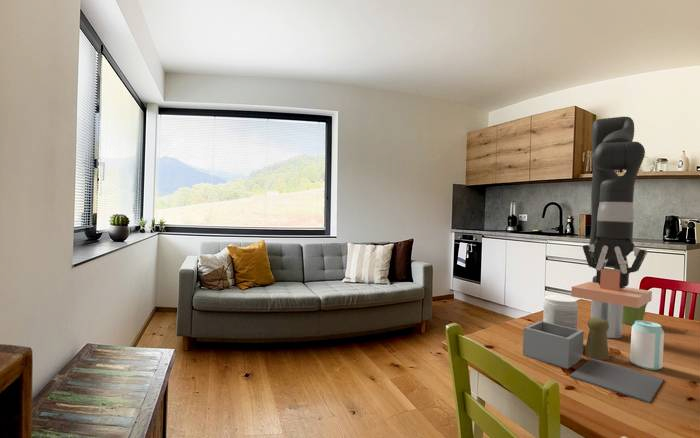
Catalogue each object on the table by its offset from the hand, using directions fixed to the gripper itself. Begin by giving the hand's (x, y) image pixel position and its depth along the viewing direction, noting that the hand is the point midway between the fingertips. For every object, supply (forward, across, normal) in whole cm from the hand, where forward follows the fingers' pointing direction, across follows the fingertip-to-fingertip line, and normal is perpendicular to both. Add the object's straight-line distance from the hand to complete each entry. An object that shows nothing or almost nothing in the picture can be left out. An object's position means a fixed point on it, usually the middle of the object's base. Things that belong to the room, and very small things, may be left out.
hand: (611, 285), depth 94 cm
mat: (+24, -2, 0) cm, 24 cm away
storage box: (+23, +14, -2) cm, 27 cm away
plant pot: (+23, +9, -65) cm, 70 cm away
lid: (+3, 0, 0) cm, 3 cm away
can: (+24, -5, -17) cm, 30 cm away
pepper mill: (+24, +6, -14) cm, 28 cm away
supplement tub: (+24, +17, -16) cm, 33 cm away
